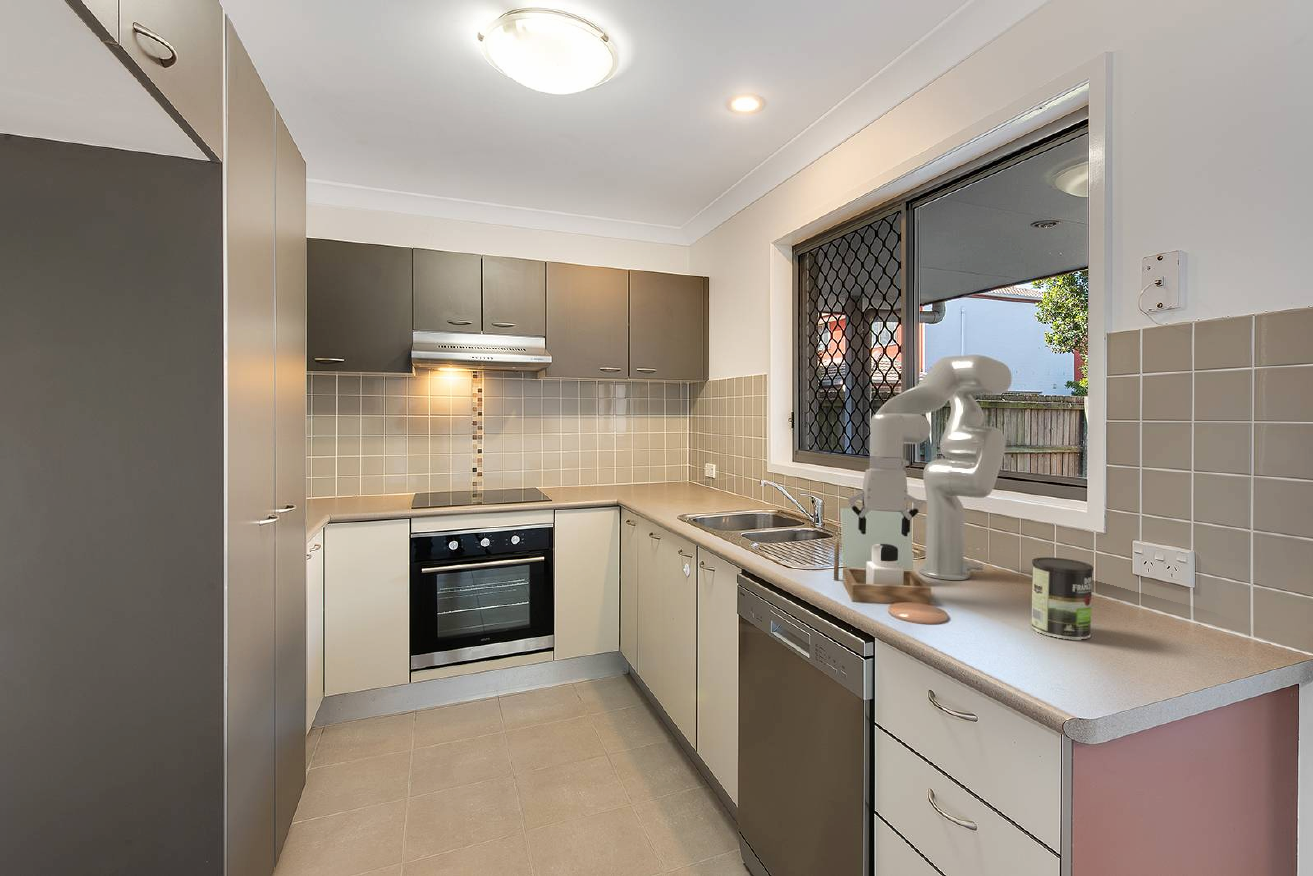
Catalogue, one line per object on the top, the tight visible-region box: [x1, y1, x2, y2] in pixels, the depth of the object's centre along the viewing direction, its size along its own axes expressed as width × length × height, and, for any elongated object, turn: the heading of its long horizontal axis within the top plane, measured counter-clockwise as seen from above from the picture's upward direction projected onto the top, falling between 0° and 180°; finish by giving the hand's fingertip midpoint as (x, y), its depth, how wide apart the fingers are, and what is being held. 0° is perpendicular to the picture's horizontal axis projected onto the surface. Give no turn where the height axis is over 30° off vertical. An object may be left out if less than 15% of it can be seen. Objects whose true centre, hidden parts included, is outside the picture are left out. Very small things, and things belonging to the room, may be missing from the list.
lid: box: [839, 507, 914, 571], centre depth 160 cm, size 17×15×2 cm
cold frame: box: [842, 567, 932, 606], centre depth 149 cm, size 17×15×4 cm
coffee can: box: [1030, 556, 1094, 641], centre depth 123 cm, size 10×10×14 cm
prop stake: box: [833, 537, 840, 582], centre depth 161 cm, size 1×1×11 cm
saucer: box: [888, 602, 949, 625], centre depth 134 cm, size 12×12×1 cm
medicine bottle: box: [865, 544, 904, 585], centre depth 149 cm, size 7×7×12 cm
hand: (883, 534), depth 148 cm, fingers open, 9 cm apart
